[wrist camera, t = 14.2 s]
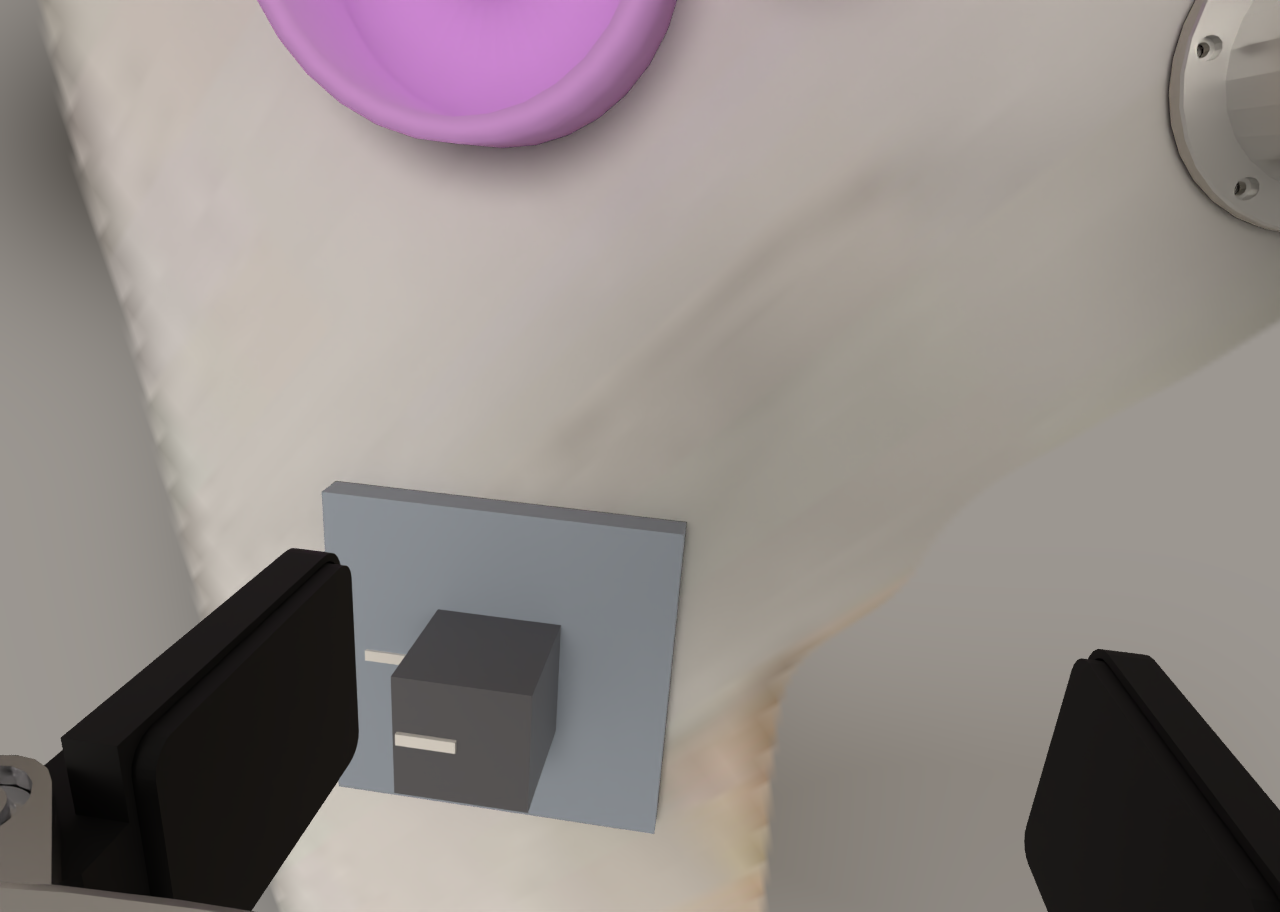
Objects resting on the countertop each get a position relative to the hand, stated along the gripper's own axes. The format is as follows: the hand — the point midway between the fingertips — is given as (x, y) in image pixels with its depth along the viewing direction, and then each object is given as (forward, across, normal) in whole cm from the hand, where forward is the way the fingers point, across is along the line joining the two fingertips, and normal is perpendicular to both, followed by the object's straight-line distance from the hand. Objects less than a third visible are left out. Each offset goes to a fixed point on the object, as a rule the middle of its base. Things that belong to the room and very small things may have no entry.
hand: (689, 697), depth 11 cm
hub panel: (+28, +10, +19) cm, 36 cm away
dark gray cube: (+27, +10, +19) cm, 34 cm away
